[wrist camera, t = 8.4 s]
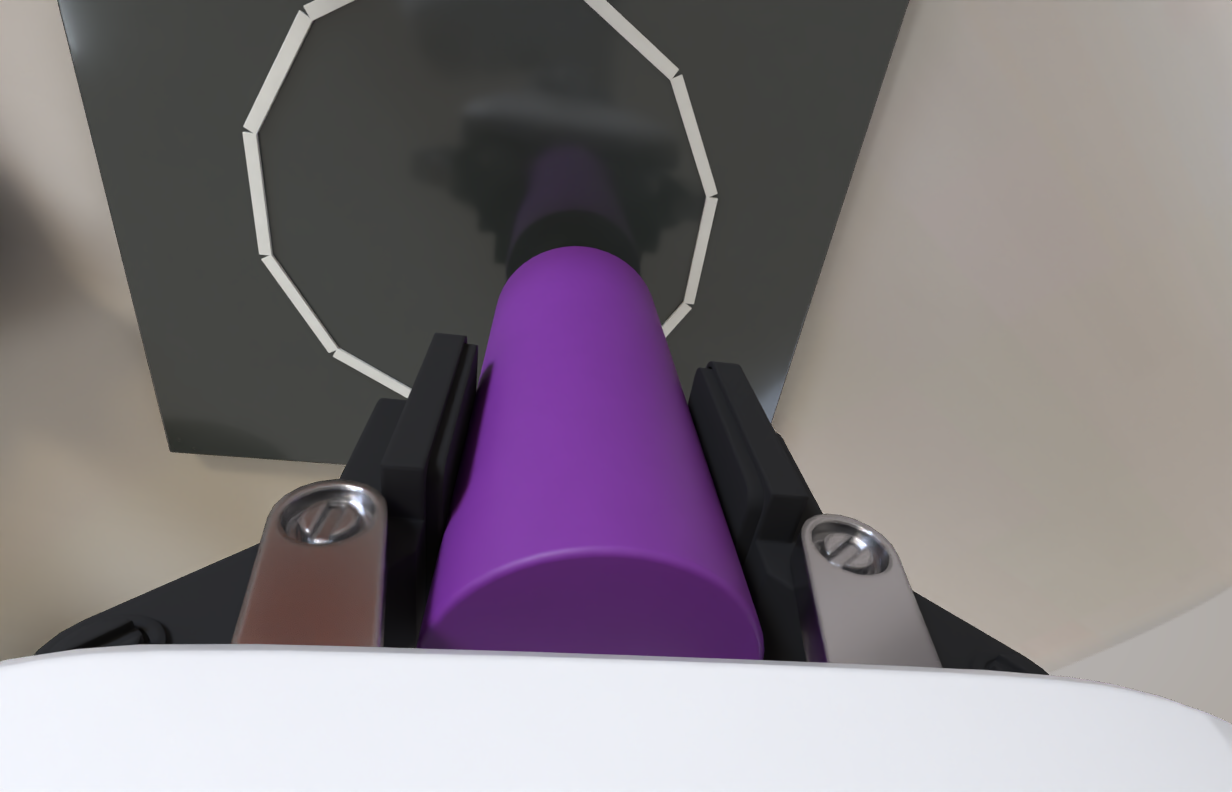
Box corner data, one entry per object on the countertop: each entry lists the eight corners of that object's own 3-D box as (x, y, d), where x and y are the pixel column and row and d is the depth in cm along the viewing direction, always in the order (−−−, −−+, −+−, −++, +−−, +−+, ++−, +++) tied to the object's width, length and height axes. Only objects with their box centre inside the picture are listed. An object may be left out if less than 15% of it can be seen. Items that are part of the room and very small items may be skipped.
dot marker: (503, 222, 15) (409, 538, 6) (663, 243, 16) (811, 562, 6) (494, 366, 17) (413, 777, 8) (637, 380, 18) (721, 779, 8)
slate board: (6, -291, 11) (-26, -309, 11) (927, -91, 14) (943, -96, 13) (179, 441, 19) (167, 454, 19) (744, 483, 22) (749, 496, 21)
